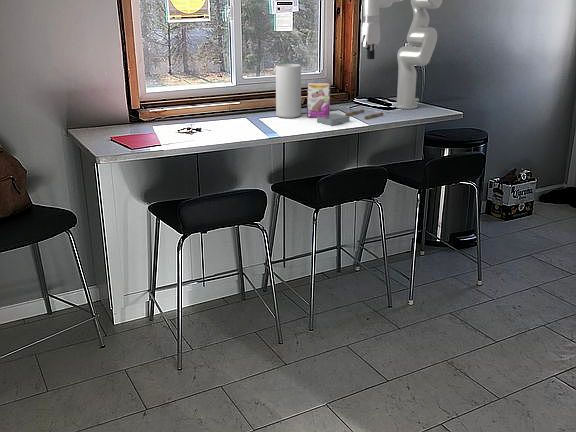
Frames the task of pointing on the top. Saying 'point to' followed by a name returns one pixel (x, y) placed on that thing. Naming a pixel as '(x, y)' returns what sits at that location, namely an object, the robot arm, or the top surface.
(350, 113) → the pair of brown sticks
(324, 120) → the steel cover plate
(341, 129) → the top surface
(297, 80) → the cylinder vase
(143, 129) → the top surface
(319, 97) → the candy bar box
